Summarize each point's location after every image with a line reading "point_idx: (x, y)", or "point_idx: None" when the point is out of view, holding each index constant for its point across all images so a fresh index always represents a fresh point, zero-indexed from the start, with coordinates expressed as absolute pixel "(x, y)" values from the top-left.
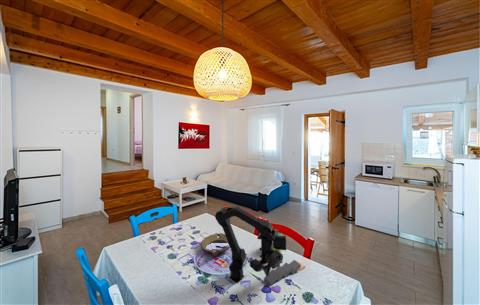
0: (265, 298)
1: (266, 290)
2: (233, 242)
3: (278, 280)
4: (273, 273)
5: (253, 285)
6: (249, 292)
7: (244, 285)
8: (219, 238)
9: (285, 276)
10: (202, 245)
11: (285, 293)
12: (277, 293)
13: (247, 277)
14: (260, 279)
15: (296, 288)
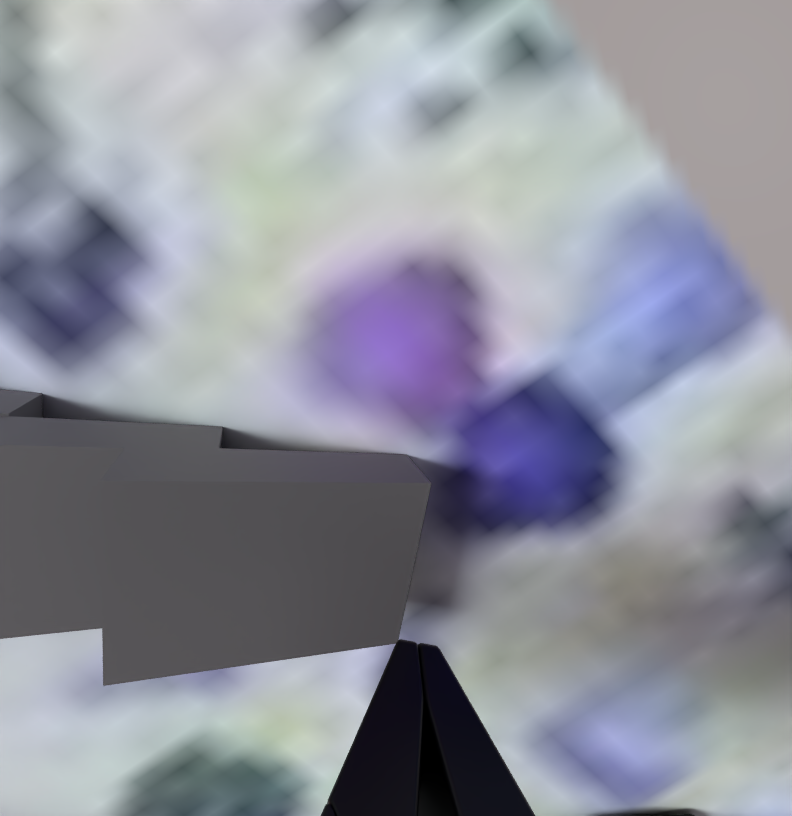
0: (734, 348)
1: (556, 447)
2: None
3: (210, 431)
4: (195, 591)
5: (592, 648)
6: (759, 605)
7: (673, 728)
8: None
9: (12, 396)
10: None
11: (384, 130)
12: (491, 256)
13: None
14: None
15: (87, 23)
